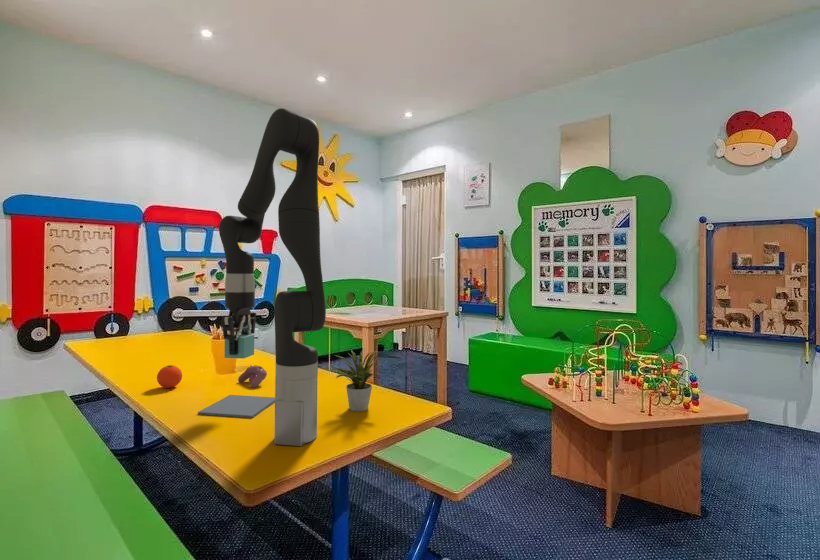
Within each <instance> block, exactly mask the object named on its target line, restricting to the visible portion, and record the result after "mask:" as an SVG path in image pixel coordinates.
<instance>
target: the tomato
mask: <svg viewBox="0 0 820 560" xmlns="http://www.w3.org/2000/svg"><path fill="white" fill-rule="evenodd" d="M182 379H183V372H182V370H181V369H180V367H178V366H176V365H173V364H168V365H165V366H164V367H162V368H160V370H159V371H158V372H157V374H156V381H157V383H158V384H159V385H160V387H162V388H166V389H170V388H171V389H172V388H174V387H176V386H177V385H179V384H180V383H181V381H182Z"/></svg>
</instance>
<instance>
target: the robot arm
mask: <svg viewBox="0 0 820 560" xmlns="http://www.w3.org/2000/svg"><path fill="white" fill-rule="evenodd" d="M280 151H282V152H285V153H288V154H291V155H294V156H295V159H296V169H295V176H294V178H293V180H292V181H291V183H290V185H289V186H288V188H287V189H286V191H284V194H283V195H282V197H281V199H280V201H279V204H278V208H277V209H278V211H277V212H278V213H277V215H278V217H277V219H278V233H279V237H280V239H281V242H282V243H283V245H284V246H285V248H286V249H287V251H288V252H289V254H290V255H291V257H292V258H293V260H294V261H295V262H296V263H297V266H298V268H299V269H300V271H301V273H302V276H303V279H304V284H305V289H306V290H284V291H280V292H278V293H277V294H276V296H275V299H274V305H273V314H274V315H273V317H274V335H275V336H274V337H275V339H274V343H275V344H274V348H275V350H274V351H275V376H274V377H275V381H274V388H275V389H274V392H275V393H274V397H275V403H274V445H283V446H293V447H294V446H295V447H297V446H298V447H302V446H303V445H304V444H308V443H311V442H312V441H314V440H315V439H316V438H317V437H318V434H317V433H318V376H319V374H318V370H319V367H318V366H319V365H318V364H319V352H318V349H317V348H316V347H314V346H310V345H307V344H303V343H301V342H298V341H296V339H294V335H293V333H300V332H302V333H305V332H315V331H316V332H317V331H321V330H322V329H323V328H324V326H325V323H326V317H327V316H326V314H327V312H326V311H327V307H326V306H327V305H326V298H325V297H326V296H325V290H324V289H325V288H324V281H323V280H324V279H323V272H322V262H321V235H320V234H321V226H320V207H319V187H318V186H319V185H318V183H319V182H318V179H319V178H318V176H319V175H318V174H319V172H318V171H319V170H318V169H319V156H320V155H319V154H320V132H319V127H318V124H317V123H316V122H315V121H314V120H313V119H312V118H310V117H307V116H304V115H301V114H299V113H297V112H294V111H292V110H289V109H286V108H277V109H276V110H275V111H273V112H272V114H271V115H270V116H269V120H268V121H267V123H266V126H265V129H264V133H263V135H262V138H261V141H260V146H259V149H258V151H257V155H256V158H255V163H254V166H253V170H252V172H251V175H250V177H249V180H248V182H247V185H246V186H245V188H244V190H243V192H242V194H241V196H240V198H239V201H238V203H237V210H238V212H239V213H240V214H241V215H242V216H237V215H236V216H235V215H226V216H223V218H222V219H221V220H220V222H219V225H218V233H219V238H220V241H221V244H222V247H223V252H224V255H225V279H224V280H225V281H224V307H225V309H229V313H228V316H222V317H221V324H222V326H221V327H222V334H223V339H224V340H225V339H228V340H229V354H230V355H237V354H238V338H239V334H242V335H255V333H256V332H255V331H256V320H257V313H256V312H251V309H252V308H253V309H254V308H255V306H256V304H255V303H256V298H255V297H256V288H255V287H256V284H255V283H256V281H255V274H254V273H255V257H254V255H253V254H252V252H248V251H246V250H245V251H244V250H243V249H241V247H240V245H239V244H253V243H256V242H257V241H258V240H260V238H261V235H262V230H263V224H264V220H265V216H266V215H265V214H266V213H267V211H268V209H269V207H270V206H271V203H272V202H273V200H274V198H275V194H276V189H277V188H276V178H275V174H274V173H275V172H274V162H275V159H276V157H277V155H278V153H279V152H280Z"/></svg>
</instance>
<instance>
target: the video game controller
mask: <svg viewBox="0 0 820 560" xmlns="http://www.w3.org/2000/svg"><path fill="white" fill-rule="evenodd" d="M266 378H267V370H266V369H265V368H264V367H263V366H260V365H255V364H254V365H250V366H248V367H247V368H246V369H245V370H244V372H242V373H241V374H240V375H239V376H238V379H237V382H238V383H240V382H241V383H243V382H245V381H247V380H248V382H250V384H249V385H250V388H252V389H253V388H257V387H258V386H259V385H261V384H262V382H263V381H264V380H265V379H266Z"/></svg>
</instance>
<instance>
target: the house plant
mask: <svg viewBox="0 0 820 560" xmlns="http://www.w3.org/2000/svg"><path fill="white" fill-rule="evenodd" d="M350 352H351V354H350V353H349V352H347V353H348V355H349V356H350V357H351V359H352V361H353V364H354V366H355V367H354V366H353V364H352V363H351V362H350V361H349V360H348V359H347V358H345V357H343V356H339V355H337V357H339V358H338V359H339V361H342V362H344V364H346V365H347V366H348V367H349V368H350V369H347V368H342V367H338V366H331V368H332V369H336V370H337V371H338V372H339V373H341V374H337V376H336V377H335V379H338V378H340V377H345V378H346V379H348V380H349V381H350V383H348V384H346V386H345V387H346V388H345V389H346V394H347V401H348V407H349V409H348V410H350V411H352V412H365V411H367V410H368V409H369V404H370V399H371V394H372V388H373V385H372V384H371V383H368V382H367V381H368V380H369V378H371V377H372V376H375V375H376V373H371V372H375V371H374V369H371V368H372V366H373V365H374V364H375V363H376V362H377V359H375V357H376V354H377V353H378V352H379V350H377V351H373V352H368V353H367V354H366V355H365V357H364V359H363V351H362V350H361V351H360V354H359V355H356V353H355V352H354V351H353V350H350ZM333 356H335V357H336V355H335V354H334V355H333ZM357 358H358V359H357ZM373 360H374V361H373ZM336 370H334V371H336ZM378 375H379V376H381V374H380V373H378Z"/></svg>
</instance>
